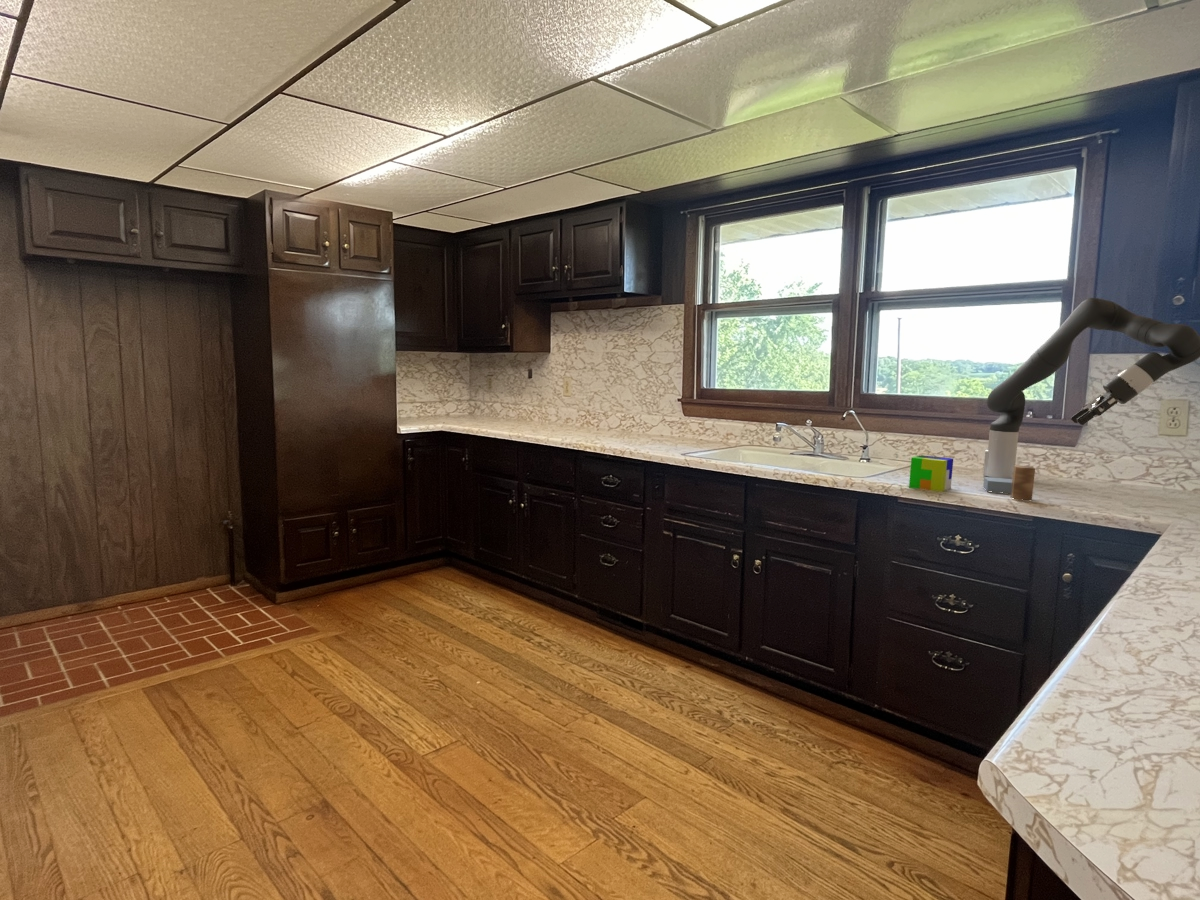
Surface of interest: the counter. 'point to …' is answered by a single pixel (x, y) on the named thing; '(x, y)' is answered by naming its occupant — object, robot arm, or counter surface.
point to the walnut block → (1022, 482)
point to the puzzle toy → (931, 473)
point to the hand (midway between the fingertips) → (1075, 421)
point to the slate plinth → (997, 484)
